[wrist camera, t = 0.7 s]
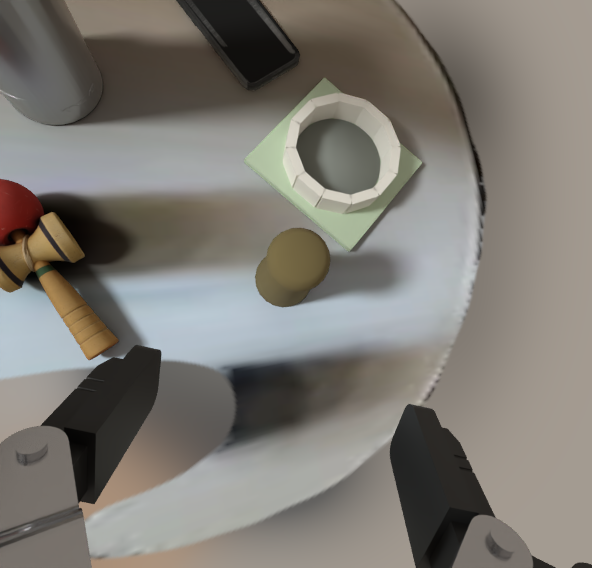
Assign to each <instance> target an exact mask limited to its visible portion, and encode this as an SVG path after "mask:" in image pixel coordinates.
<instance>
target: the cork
mask: <svg viewBox="0 0 592 568" xmlns="http://www.w3.org/2000/svg"><path fill="white" fill-rule="evenodd" d="M329 265H330V254H329V250H328V247H327V245H326V243H325V241H324V240H323V239H322V238H321V237H320V236H319V235H318V234H316V233H314V232H313V231H311V230H308V229H304V228H291V229H289V230H286V231H284V232H281V233H280V234H279V235H278V236H276V237H275V238H274V239H273V241H272V243H271V244H270V246H269V248H268V252H267V256H266V257H265V258H264V259H263V260H262V261H261V263H260V264H259V266H258V268H257V271H256V276H255V279H256V287H257V289H258V291H259V293H260V295H261V296H262V297H263V298H264V299H265V300H266V301H267V302H269V303H271V304H272V305H275V306H280V307H289V306H293V305H295V304H298V303H300V302H301V301H302V300H303V299H304V298H305V297H306V296H307V294H308V292H309V290H310V289H312V288H314V287H316V286H317V285H319V284H320V283H321V282H322V281H323V280H324V278H325V277H326V275H327V273H328V271H329Z"/></svg>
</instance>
